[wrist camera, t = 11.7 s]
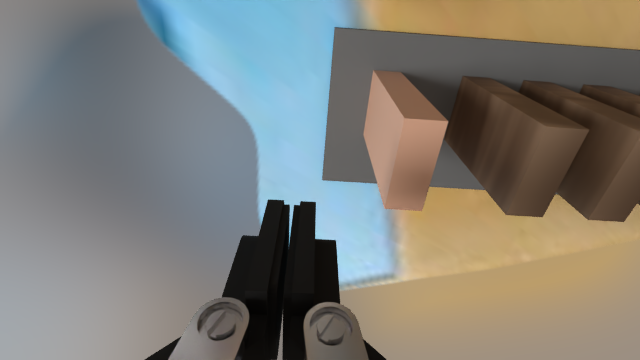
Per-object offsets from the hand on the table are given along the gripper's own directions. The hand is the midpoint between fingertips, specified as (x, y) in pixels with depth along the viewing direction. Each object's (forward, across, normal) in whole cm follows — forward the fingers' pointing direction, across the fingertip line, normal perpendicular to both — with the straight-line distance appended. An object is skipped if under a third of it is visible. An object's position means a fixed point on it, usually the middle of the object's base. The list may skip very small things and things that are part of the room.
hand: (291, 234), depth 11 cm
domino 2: (+15, -12, -1) cm, 19 cm away
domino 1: (+15, -6, -1) cm, 16 cm away
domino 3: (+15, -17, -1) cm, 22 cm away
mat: (+15, -15, 0) cm, 21 cm away
